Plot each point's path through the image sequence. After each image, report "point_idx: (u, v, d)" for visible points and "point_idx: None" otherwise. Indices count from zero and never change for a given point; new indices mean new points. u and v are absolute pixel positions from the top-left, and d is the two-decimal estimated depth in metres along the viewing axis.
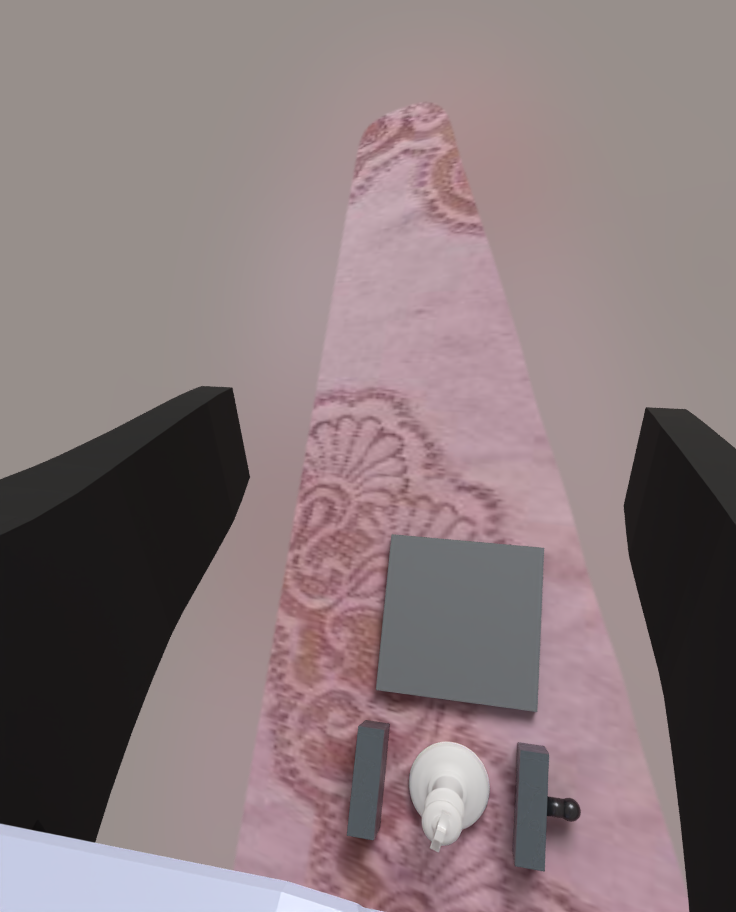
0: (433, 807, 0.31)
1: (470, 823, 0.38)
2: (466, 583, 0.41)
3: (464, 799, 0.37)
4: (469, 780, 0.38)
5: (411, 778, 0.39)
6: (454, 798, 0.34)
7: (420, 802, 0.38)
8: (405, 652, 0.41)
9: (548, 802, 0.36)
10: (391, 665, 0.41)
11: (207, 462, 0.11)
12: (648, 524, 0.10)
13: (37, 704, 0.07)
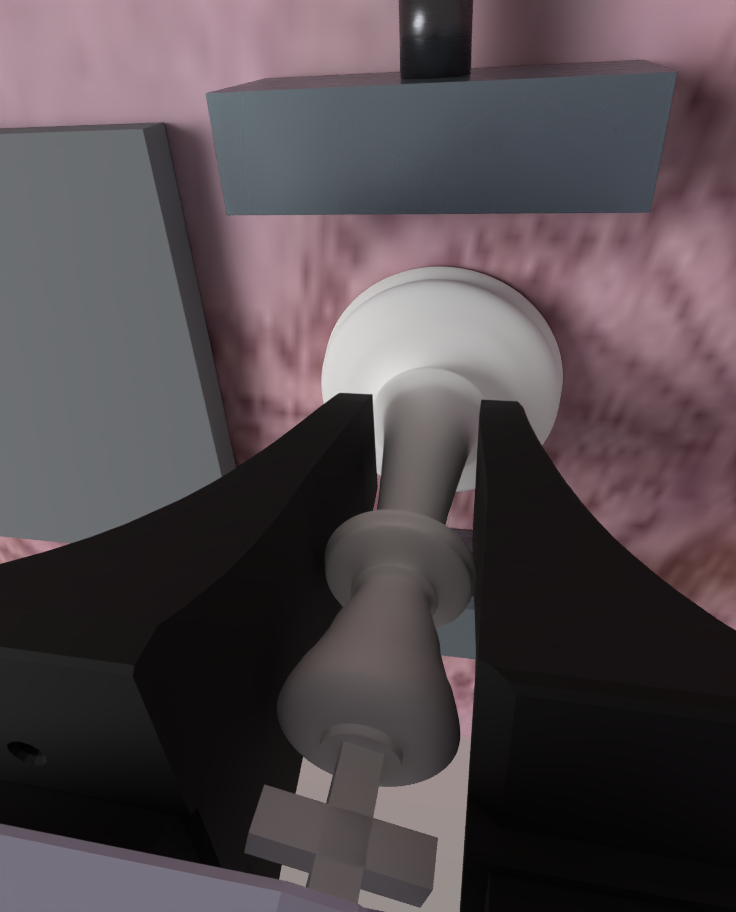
0: (305, 756, 0.07)
1: (531, 336, 0.11)
2: None
3: (446, 377, 0.11)
4: (400, 352, 0.12)
5: None
6: (344, 552, 0.08)
7: None
8: (135, 502, 0.16)
9: (410, 63, 0.09)
10: None
11: (356, 473, 0.10)
12: (476, 511, 0.10)
13: (252, 738, 0.07)
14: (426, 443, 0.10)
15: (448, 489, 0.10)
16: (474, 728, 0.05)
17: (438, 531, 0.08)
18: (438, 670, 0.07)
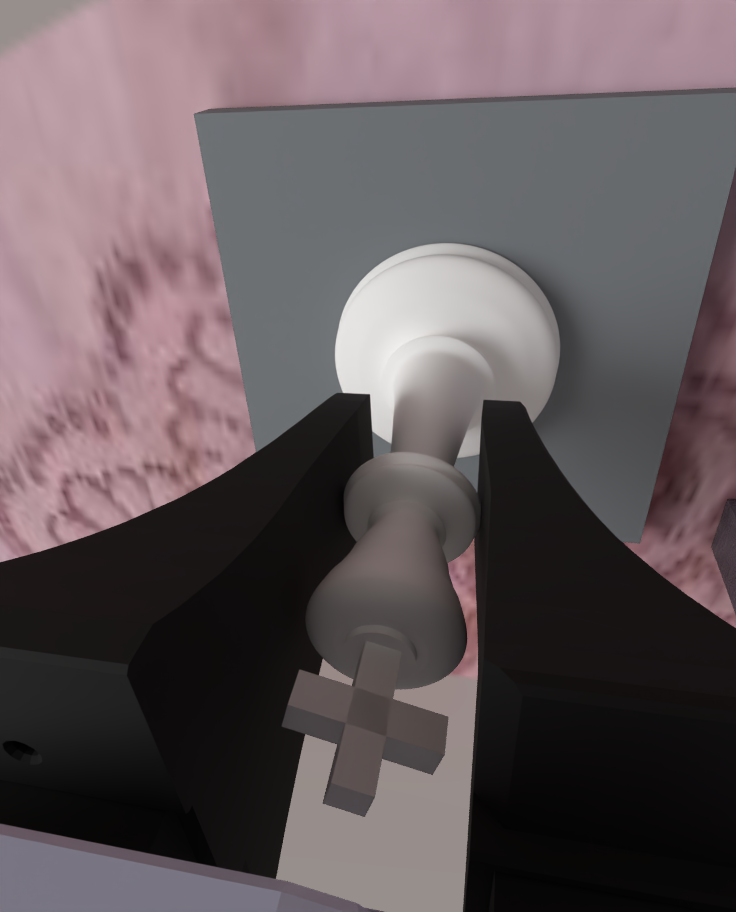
0: (329, 661, 0.08)
1: (532, 309, 0.12)
2: None
3: (453, 345, 0.12)
4: (410, 321, 0.13)
5: None
6: (362, 490, 0.09)
7: None
8: None
9: None
10: None
11: None
12: None
13: (248, 737, 0.07)
14: (435, 401, 0.11)
15: (454, 443, 0.11)
16: (479, 729, 0.05)
17: (448, 472, 0.09)
18: (449, 583, 0.08)
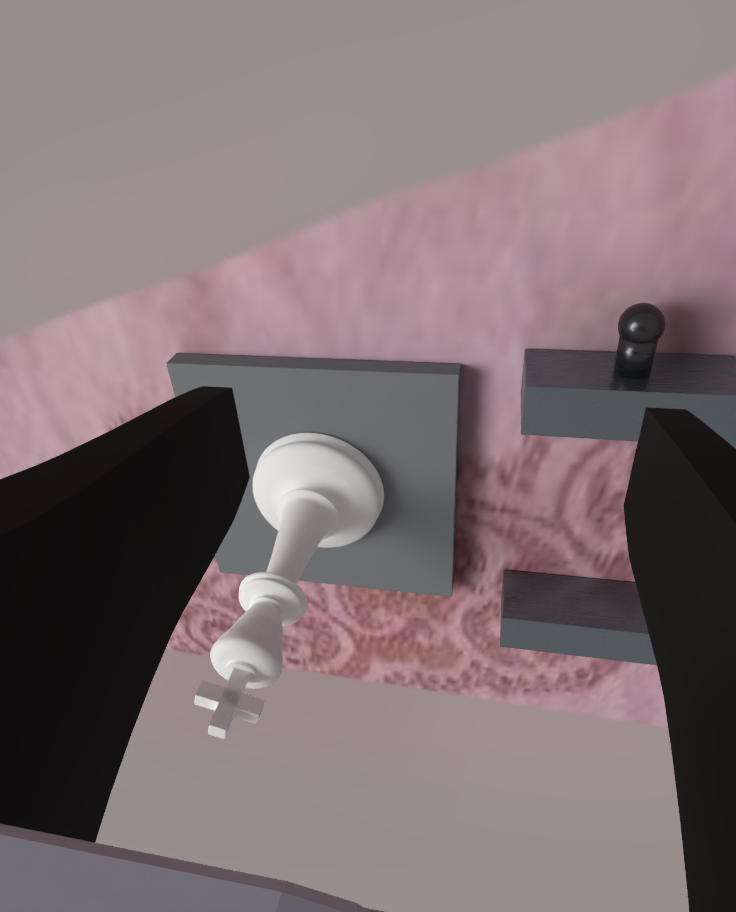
0: (222, 675, 0.17)
1: (358, 473, 0.22)
2: None
3: (312, 495, 0.22)
4: (291, 478, 0.22)
5: None
6: (246, 590, 0.19)
7: (341, 539, 0.24)
8: (388, 560, 0.25)
9: (623, 370, 0.18)
10: (412, 578, 0.25)
11: (206, 462, 0.11)
12: (647, 525, 0.10)
13: (37, 704, 0.07)
14: (295, 533, 0.21)
15: (303, 557, 0.20)
16: None
17: (286, 582, 0.18)
18: (273, 641, 0.17)
